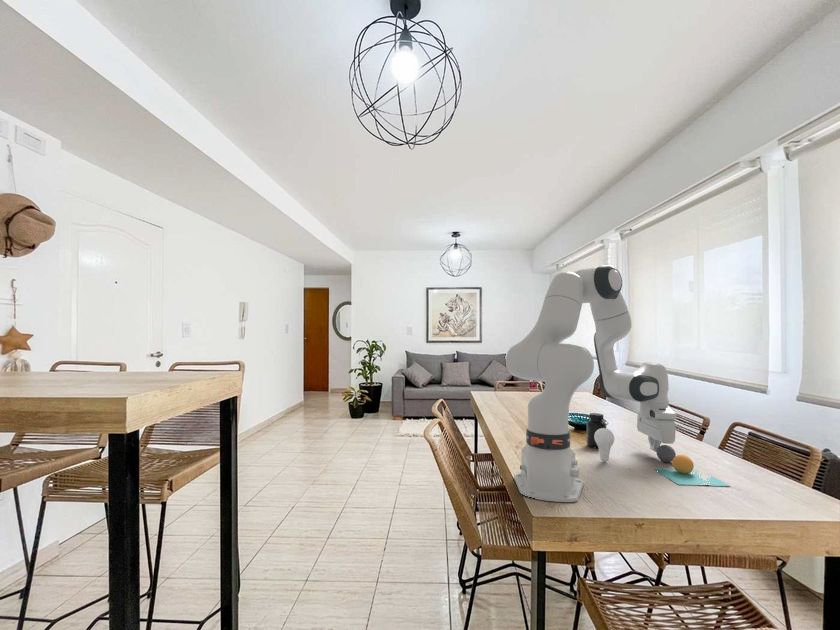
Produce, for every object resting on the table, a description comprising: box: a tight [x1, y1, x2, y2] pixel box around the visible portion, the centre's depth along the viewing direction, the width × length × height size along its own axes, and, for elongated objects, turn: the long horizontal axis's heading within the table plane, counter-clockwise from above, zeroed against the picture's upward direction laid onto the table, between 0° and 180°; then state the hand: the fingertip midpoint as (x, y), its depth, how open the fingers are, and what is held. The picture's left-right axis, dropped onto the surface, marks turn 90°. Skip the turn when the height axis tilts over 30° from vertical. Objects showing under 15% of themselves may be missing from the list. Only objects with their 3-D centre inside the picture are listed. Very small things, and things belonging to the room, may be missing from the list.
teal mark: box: [653, 468, 731, 487], centre depth 124 cm, size 14×14×1 cm
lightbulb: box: [594, 427, 615, 463], centre depth 139 cm, size 6×6×11 cm
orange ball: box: [671, 454, 695, 474], centre depth 128 cm, size 6×6×6 cm
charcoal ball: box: [655, 444, 677, 463], centre depth 140 cm, size 6×6×6 cm
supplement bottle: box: [586, 412, 607, 449], centre depth 159 cm, size 7×7×12 cm
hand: (654, 450), depth 145 cm, fingers closed
